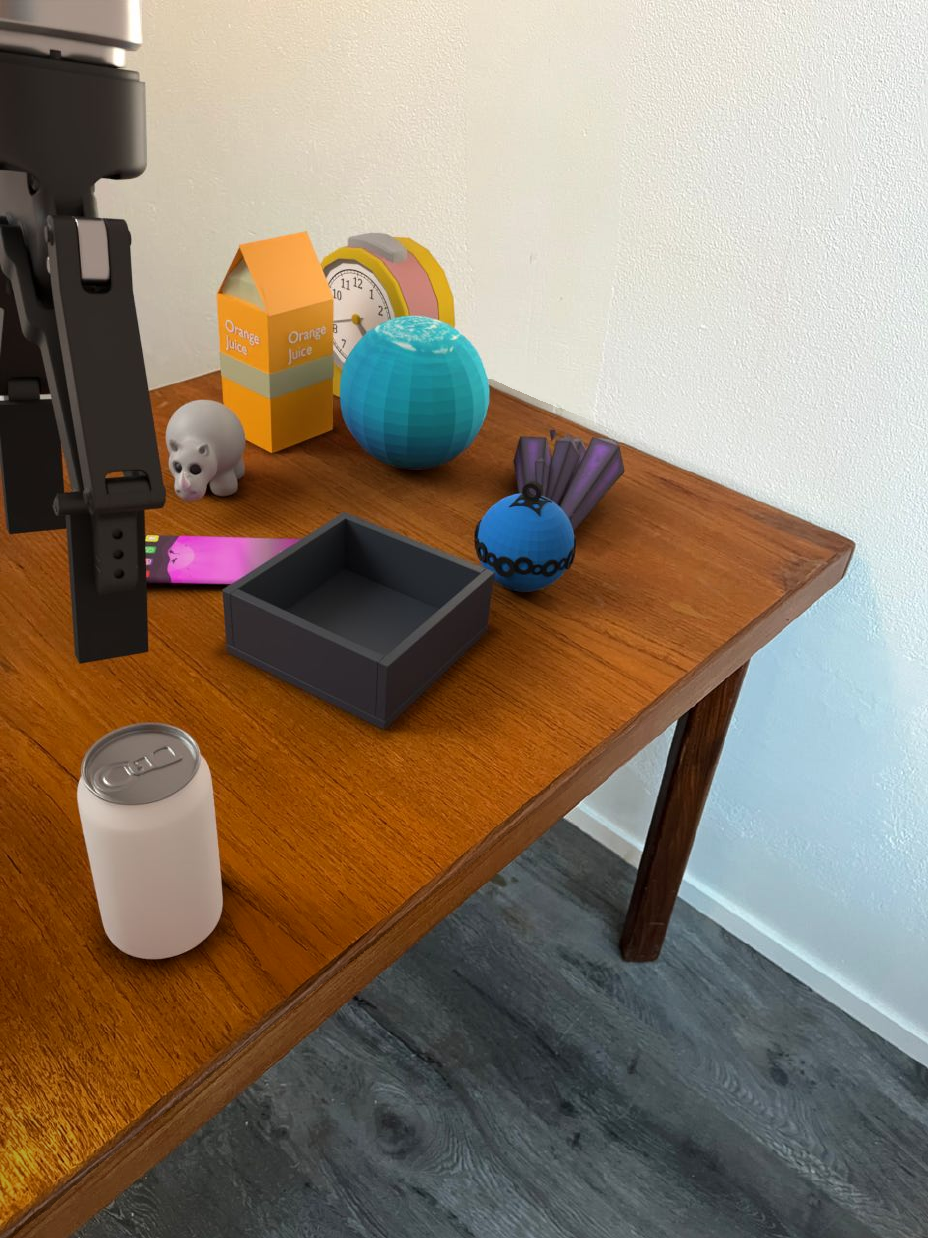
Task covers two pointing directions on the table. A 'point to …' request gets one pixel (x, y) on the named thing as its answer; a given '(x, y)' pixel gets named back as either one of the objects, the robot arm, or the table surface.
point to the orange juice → (277, 342)
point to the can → (151, 839)
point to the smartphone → (207, 558)
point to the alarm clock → (381, 289)
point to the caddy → (358, 616)
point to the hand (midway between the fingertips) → (70, 585)
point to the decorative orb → (414, 392)
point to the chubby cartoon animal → (205, 449)
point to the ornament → (525, 540)
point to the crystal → (569, 471)
